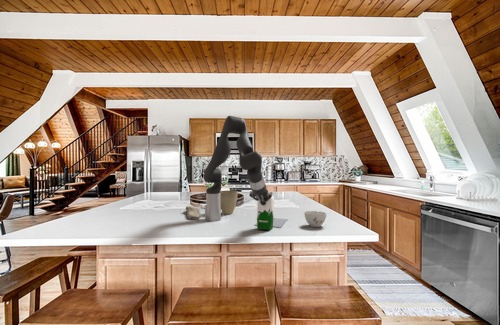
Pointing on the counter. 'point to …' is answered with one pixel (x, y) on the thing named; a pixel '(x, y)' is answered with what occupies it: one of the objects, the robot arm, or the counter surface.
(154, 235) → the counter surface
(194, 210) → the elongated rock
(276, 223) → the slate mat
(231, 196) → the plant pot
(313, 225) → the teacup
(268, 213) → the milk carton
